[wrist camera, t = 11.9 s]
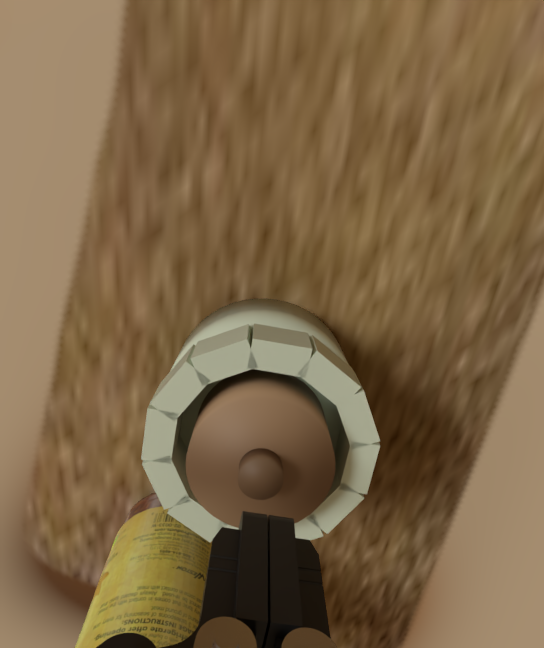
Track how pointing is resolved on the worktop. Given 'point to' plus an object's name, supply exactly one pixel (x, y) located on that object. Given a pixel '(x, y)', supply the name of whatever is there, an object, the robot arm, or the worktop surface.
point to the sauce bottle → (149, 580)
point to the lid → (260, 448)
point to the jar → (273, 356)
